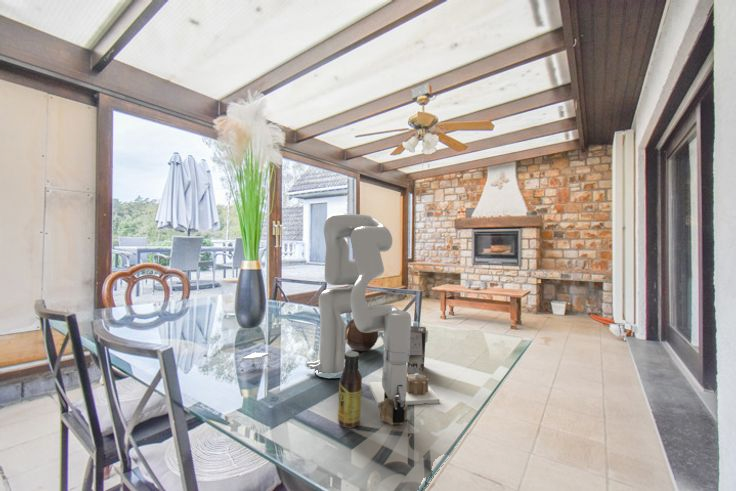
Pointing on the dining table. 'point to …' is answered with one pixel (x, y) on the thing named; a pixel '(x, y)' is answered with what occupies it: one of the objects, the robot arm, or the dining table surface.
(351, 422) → the sauce bottle
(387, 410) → the beech gear
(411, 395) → the gear board
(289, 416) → the dining table surface
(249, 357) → the origami figure
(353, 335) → the wooden sphere
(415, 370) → the coffee box
